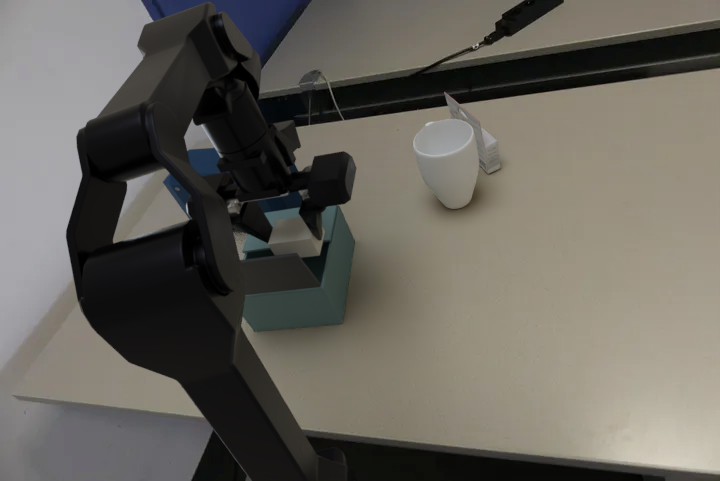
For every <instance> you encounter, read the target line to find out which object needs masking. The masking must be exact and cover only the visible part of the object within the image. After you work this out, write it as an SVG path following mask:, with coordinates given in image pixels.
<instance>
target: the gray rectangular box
mask: <svg viewBox="0 0 720 481" xmlns="http://www.w3.org/2000/svg"><path fill="white" fill-rule="evenodd" d="M322 231H323V235H322V240H320V241H318V240H317V239H316V238H315V237H314V236H313V234H312V233H311V232H310V230H309V229H308V227H307V226H306V224H305V222H304V221H303V220H302V218H301V217H295V218H288V219H281V220H275V223H274V226H273V229H272V232H271V236H270V239H269V242H268V245H269V247H270V248H271V250H272V252H273V253H274V255H283V254H290V253H297V254H298V255H299V256H300V257H301V258H303V257H311V256H319V255H320V252H321V247H322V243H323V238H324V234H325V230H324V228H323V226H322Z"/></svg>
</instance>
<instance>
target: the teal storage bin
mask: <svg viewBox="0 0 720 481" xmlns="http://www.w3.org/2000/svg"><path fill="white" fill-rule="evenodd" d="M299 209H300V207H299V208H293V209H286V210H280V211H274V212H267V213H264V214H265V215H266V217H267V219H268V220H269V222H270V224H271V225H272V227H273V226H274V223H275V220H281V219H288V218H295V217H300V215H299ZM322 226H323V228H324V230H325V234H324V238H323V243H322V247H321V252H320V255H319V256H311V257H303V258H301V259H302V260H303V261H304V263H305V264H306V265H307V267H308V268H309V269H310V271H311V272H312V273H313V275H314V276H315V277H316V278H317V280H318V281H319V282H320V284H321V287H316V288H307V289H298V290H289V291H279V292H270V293H261V294H252V295H245V302H244V309H243V316H242V319H244V321H245V322H246V323H247V324H248V325H249V327H250V329H251V330H252V331H253V332H255V333H256V332H267V331H277V330H279V331H280V330H289V329H299V328H300V329H301V328H311V327H312V328H313V327H322V326H334V325H335V326H336V325H342V324H343V322H344V316H345V310H346V303H347V296H348V290H349V284H350V283H349V282H350V278H351V277H350V276H351V270H352V263H353V258H354V250H355V244H356V240H355V238H354V236H353V233H352V231H351V228H350V226H349V224H348V221H347V220H346V217H345V215H344V212H343V210H342V208H341V205H335V206H328V207H326V210H325V211H323V212H322ZM241 252H242V253H243V254H244V255H243V258H242V260H245V259H252V258H260V257H268V256H275V255H274V253H273V252H272V250H271V248H270V247H269V245H268V243H266V242H264V241H262V240H260V239H258V238H256V237H254V236H251V235H249V234H247V236H246V238H245V242H244V245H243V248H242V250H241Z"/></svg>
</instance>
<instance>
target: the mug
mask: <svg viewBox="0 0 720 481" xmlns="http://www.w3.org/2000/svg"><path fill="white" fill-rule="evenodd" d="M412 148H413V153H414V156H415V159H416V160H415V161H416V163H417V166H418V170H419V173H420V175H421V178H422V180H423V182H424V183H425V185H426V186H427V187H428V189H429V190H430V191H431V193H433V195H434V196H435V197H436V198H437V199H438V200H439V201H440V203H441V204H442V205H443V206H444V207H445V208H448V209H452V210H456V209H461V208H464V207H466V206H468V205H469V204H470V202H471V201H472V198H473V194H474V190H475V187H476V184H477V180H478V176H479V170H480V165H479V156H478V150H477V144H476V138H475V133H474V130H473V128H472V127H471V125H470V124H468V123H467V122H465V121H462V120H458V119H451V118H447V119H446V118H445V119H440V120H437V121H432V120H431V121H429V122H426V123H425V124H424V126H423V127H422V128H420V130H419V131H418V132H417V133H416V134H415V136H414V138H413V142H412Z"/></svg>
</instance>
